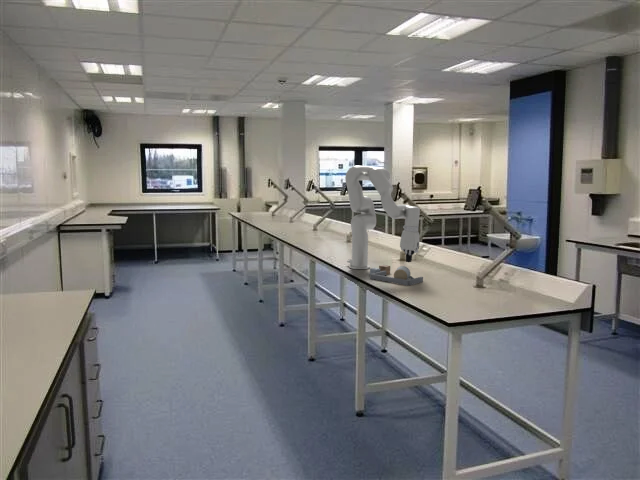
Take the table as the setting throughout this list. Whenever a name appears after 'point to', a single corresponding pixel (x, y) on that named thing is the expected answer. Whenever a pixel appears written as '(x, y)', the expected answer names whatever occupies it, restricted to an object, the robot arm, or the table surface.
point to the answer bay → (395, 280)
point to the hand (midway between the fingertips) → (408, 261)
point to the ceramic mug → (403, 273)
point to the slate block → (374, 270)
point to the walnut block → (385, 268)
